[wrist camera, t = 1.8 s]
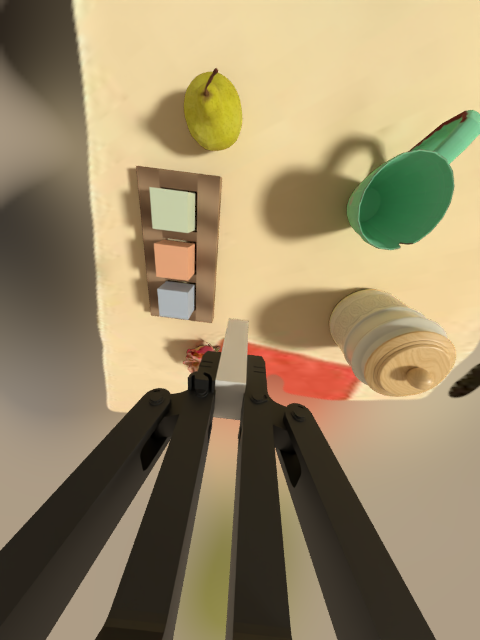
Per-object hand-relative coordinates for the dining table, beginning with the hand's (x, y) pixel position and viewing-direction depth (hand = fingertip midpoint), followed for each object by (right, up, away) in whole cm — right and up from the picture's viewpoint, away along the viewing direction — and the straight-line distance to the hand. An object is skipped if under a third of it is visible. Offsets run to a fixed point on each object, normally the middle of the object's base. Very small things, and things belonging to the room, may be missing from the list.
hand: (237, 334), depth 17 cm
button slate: (-11, +6, +22) cm, 25 cm away
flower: (-7, -6, +31) cm, 32 cm away
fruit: (-3, +28, +13) cm, 31 cm away
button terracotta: (-10, +12, +19) cm, 24 cm away
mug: (+21, +21, +15) cm, 33 cm away
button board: (-10, +13, +21) cm, 26 cm away
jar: (+24, +1, +25) cm, 35 cm away
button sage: (-9, +18, +16) cm, 25 cm away
